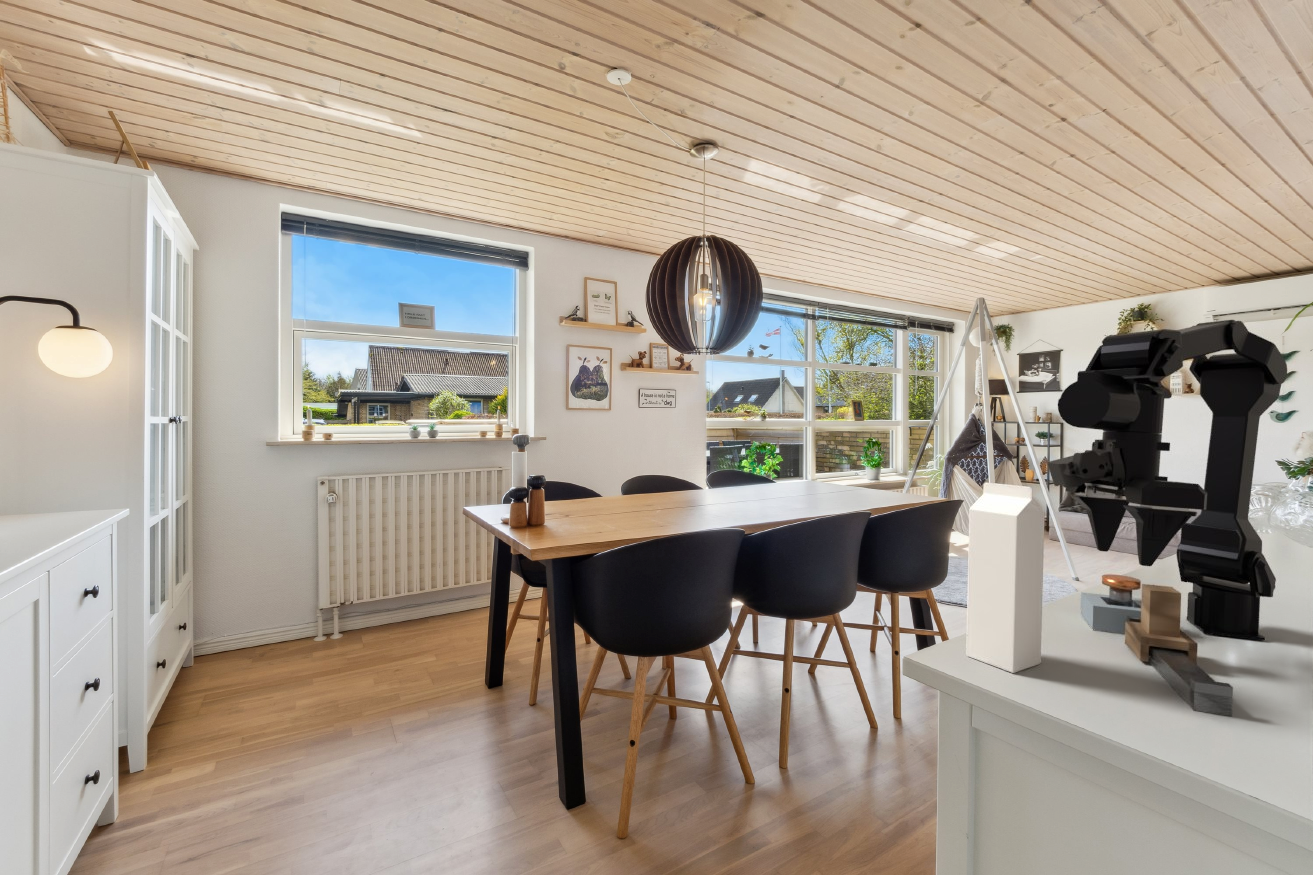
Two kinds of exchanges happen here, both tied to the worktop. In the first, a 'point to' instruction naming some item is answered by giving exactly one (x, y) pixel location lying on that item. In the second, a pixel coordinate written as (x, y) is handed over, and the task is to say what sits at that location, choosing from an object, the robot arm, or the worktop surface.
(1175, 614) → the carriage
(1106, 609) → the box
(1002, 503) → the milk
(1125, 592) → the button
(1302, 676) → the worktop surface
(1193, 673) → the rail
